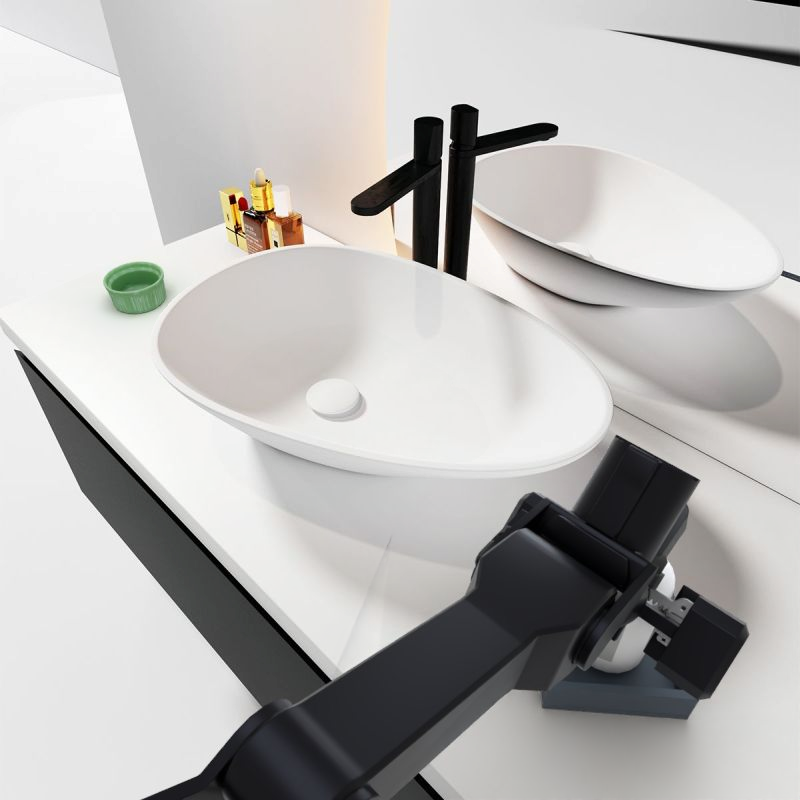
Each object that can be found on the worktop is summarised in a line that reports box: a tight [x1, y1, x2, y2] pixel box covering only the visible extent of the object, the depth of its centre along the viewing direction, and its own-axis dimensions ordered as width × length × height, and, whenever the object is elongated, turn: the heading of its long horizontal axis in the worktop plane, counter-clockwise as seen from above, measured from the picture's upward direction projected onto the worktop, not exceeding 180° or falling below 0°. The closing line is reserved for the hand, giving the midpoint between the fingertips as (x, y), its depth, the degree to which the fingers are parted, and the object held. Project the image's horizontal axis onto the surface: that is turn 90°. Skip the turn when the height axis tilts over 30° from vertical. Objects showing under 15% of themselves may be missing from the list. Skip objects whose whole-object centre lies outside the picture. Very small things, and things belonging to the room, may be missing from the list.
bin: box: [540, 592, 700, 720], centre depth 65 cm, size 13×13×4 cm
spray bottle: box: [591, 559, 676, 673], centre depth 59 cm, size 7×7×18 cm
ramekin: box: [102, 261, 167, 314], centre depth 109 cm, size 9×9×4 cm
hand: (633, 583), depth 60 cm, fingers closed on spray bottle, 7 cm apart
